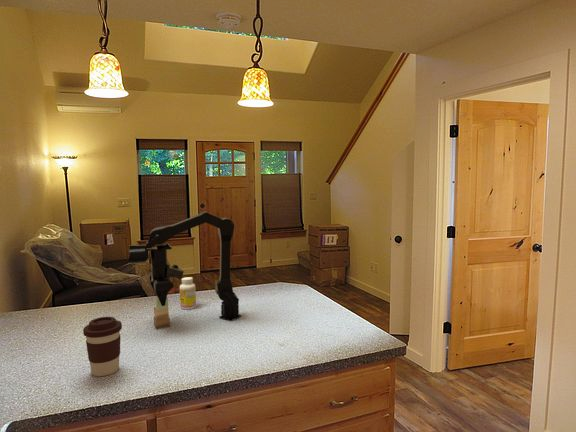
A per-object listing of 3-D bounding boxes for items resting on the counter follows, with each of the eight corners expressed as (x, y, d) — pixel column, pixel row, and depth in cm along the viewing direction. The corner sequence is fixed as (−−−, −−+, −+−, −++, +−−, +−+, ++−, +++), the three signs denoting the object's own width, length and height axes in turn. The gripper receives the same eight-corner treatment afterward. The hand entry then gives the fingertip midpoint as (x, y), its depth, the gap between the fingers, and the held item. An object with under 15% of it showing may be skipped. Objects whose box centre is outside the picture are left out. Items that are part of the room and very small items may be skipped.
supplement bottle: (179, 306, 168) (177, 277, 167) (194, 304, 171) (193, 275, 170) (181, 311, 162) (180, 281, 161) (197, 308, 165) (196, 279, 164)
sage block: (168, 308, 144) (167, 298, 144) (157, 310, 142) (156, 299, 142) (166, 305, 148) (165, 295, 147) (155, 307, 146) (154, 297, 146)
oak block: (168, 317, 145) (168, 308, 144) (156, 319, 142) (156, 310, 142) (166, 314, 149) (166, 305, 148) (154, 316, 146) (153, 307, 146)
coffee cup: (129, 362, 116) (126, 313, 115) (115, 379, 106) (112, 326, 105) (95, 363, 116) (93, 314, 115) (79, 380, 106) (75, 327, 105)
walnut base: (170, 326, 145) (169, 317, 144) (156, 329, 142) (155, 320, 142) (167, 322, 149) (167, 313, 149) (154, 325, 147) (153, 316, 146)
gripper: (186, 263, 139) (188, 305, 140) (176, 255, 155) (177, 293, 157) (154, 267, 134) (156, 311, 135) (147, 258, 150) (149, 297, 152)
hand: (161, 302), depth 145 cm, fingers open, 9 cm apart
